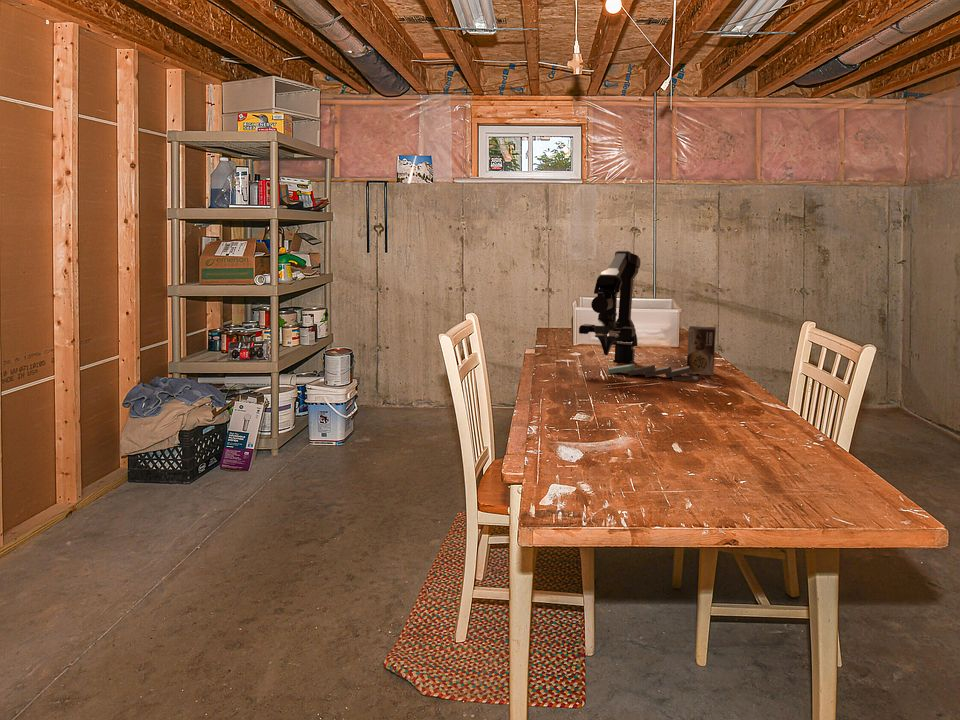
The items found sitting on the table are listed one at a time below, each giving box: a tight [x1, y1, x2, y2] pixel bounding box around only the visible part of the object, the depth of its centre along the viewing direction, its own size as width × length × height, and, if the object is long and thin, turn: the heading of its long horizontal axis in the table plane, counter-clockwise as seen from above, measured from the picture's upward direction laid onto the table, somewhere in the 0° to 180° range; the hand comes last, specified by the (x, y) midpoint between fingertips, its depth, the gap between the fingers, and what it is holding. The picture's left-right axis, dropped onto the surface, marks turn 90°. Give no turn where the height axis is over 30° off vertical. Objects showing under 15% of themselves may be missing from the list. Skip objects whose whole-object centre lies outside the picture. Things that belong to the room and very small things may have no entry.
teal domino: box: [607, 363, 636, 375], centre depth 267 cm, size 2×5×8 cm
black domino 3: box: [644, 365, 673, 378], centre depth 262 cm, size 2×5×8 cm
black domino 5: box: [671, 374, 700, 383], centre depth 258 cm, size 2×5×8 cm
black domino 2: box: [627, 364, 656, 377], centre depth 264 cm, size 2×5×8 cm
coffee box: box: [686, 326, 717, 376], centre depth 268 cm, size 9×6×16 cm
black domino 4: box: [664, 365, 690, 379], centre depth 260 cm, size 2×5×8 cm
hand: (606, 355), depth 269 cm, fingers closed
